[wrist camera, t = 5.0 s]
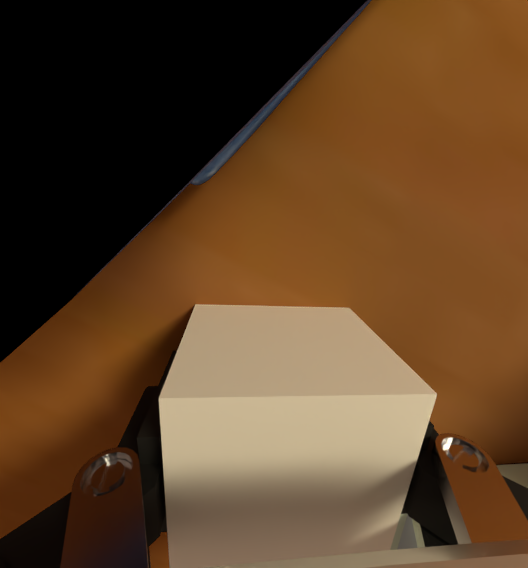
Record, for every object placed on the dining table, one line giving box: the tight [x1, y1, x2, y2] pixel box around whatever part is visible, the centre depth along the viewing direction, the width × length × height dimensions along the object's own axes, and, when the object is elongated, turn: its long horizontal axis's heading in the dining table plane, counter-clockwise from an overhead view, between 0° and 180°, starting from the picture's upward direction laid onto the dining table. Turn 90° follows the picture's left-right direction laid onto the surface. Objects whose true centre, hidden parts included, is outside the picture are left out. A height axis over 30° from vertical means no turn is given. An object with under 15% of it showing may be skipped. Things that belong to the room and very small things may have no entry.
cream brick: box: [159, 304, 437, 568], centre depth 9 cm, size 6×6×5 cm
